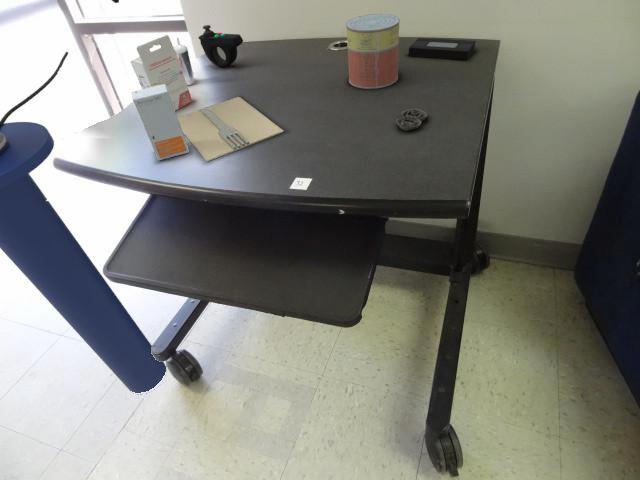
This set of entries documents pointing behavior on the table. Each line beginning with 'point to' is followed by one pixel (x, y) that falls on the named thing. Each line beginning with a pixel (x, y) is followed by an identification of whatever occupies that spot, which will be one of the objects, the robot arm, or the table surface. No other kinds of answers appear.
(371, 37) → the canned food
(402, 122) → the corroded twin loop
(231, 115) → the placemat
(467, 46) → the vhs tape
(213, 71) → the table surface
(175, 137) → the cosmetic box
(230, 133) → the fork
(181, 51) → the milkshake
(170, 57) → the ink cartridge box
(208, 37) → the controller
